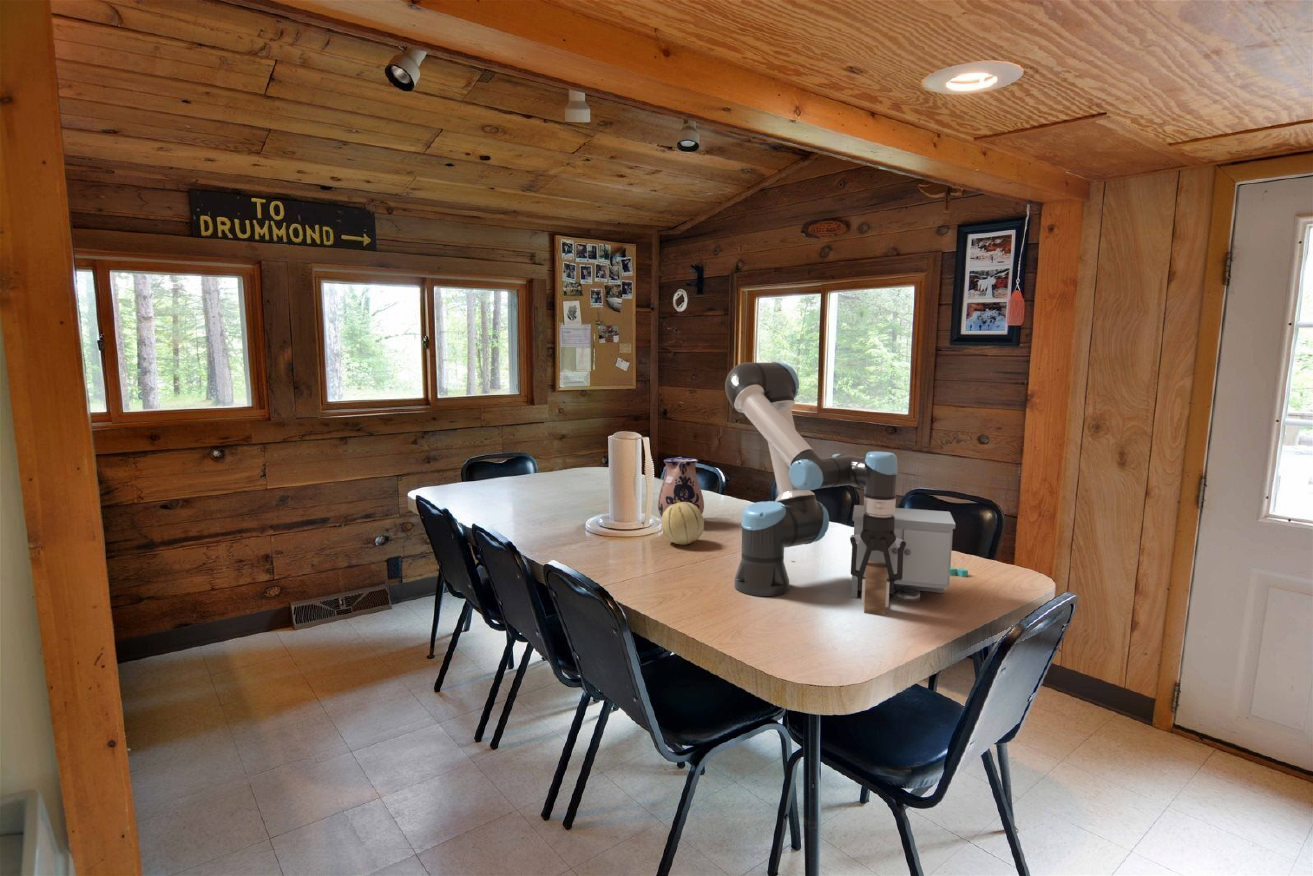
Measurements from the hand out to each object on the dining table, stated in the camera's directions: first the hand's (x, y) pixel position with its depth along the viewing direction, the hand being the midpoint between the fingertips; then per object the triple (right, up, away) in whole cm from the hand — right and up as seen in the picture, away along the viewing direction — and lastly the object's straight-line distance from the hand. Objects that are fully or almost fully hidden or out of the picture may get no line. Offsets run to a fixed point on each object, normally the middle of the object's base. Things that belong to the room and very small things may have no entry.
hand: (874, 603), depth 173 cm
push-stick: (+2, -1, +8) cm, 8 cm away
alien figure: (+24, +1, +34) cm, 42 cm away
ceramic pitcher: (-46, +9, +90) cm, 102 cm away
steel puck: (+12, -1, +10) cm, 15 cm away
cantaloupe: (-46, +6, +61) cm, 77 cm away
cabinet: (+10, 0, +13) cm, 16 cm away
